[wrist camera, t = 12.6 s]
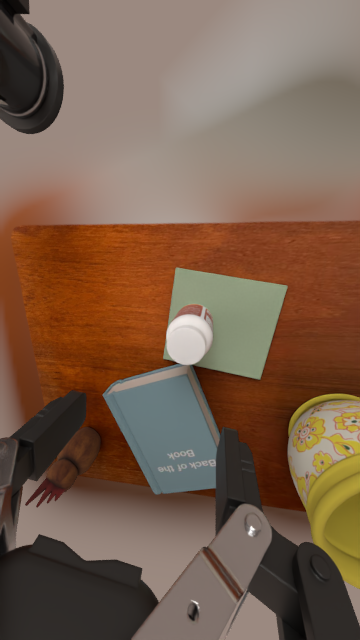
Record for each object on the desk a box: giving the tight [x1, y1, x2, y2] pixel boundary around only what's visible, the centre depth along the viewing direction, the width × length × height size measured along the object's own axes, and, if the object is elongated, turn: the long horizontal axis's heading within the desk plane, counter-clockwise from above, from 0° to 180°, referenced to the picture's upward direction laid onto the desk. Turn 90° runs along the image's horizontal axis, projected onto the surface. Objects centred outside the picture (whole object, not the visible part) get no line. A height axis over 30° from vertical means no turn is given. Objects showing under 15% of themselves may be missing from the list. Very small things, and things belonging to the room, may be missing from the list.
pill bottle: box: [166, 304, 213, 365], centre depth 30 cm, size 6×6×11 cm
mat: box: [163, 268, 287, 380], centre depth 35 cm, size 16×17×1 cm
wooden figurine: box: [25, 427, 101, 507], centre depth 40 cm, size 7×6×15 cm
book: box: [103, 364, 221, 494], centre depth 39 cm, size 23×16×5 cm
